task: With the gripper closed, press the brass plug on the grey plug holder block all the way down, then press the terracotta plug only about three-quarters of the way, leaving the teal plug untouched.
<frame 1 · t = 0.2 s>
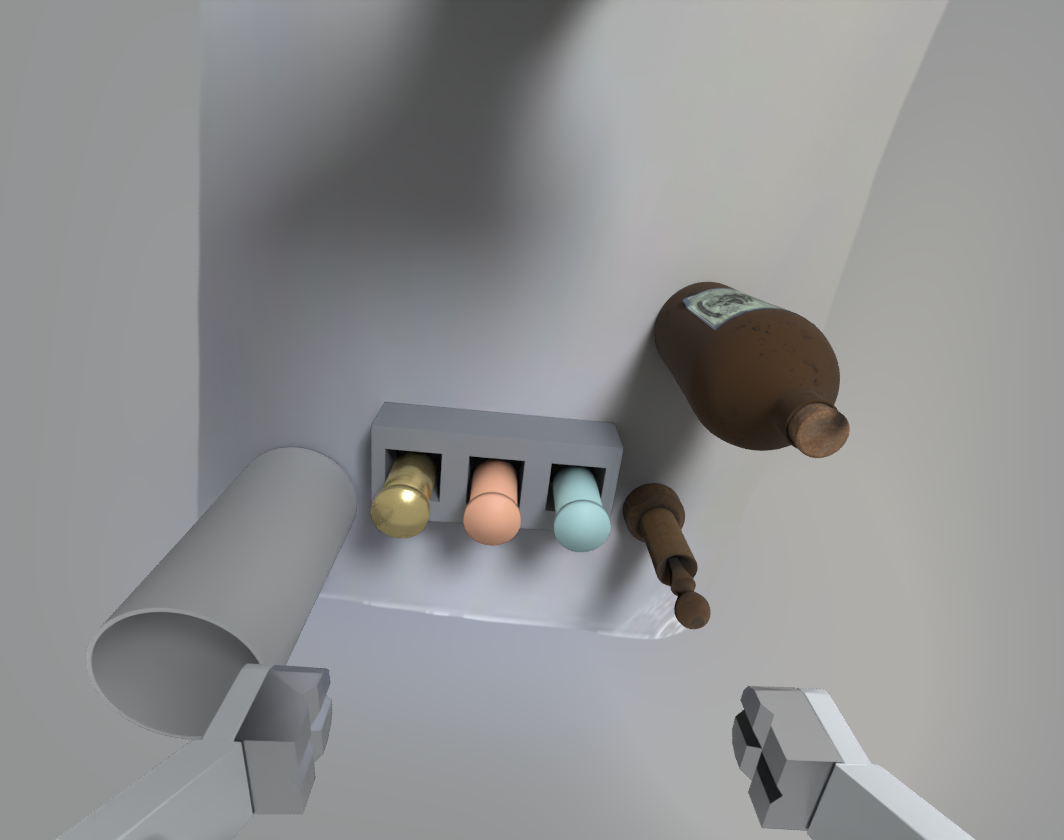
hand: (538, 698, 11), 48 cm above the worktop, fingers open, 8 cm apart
plug b: (493, 498, 54), point 9 cm above the worktop, slide at 0.0 cm
plug a: (407, 491, 54), point 9 cm above the worktop, slide at 0.0 cm
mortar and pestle: (651, 507, 66), on the worktop
cylinder vase: (302, 494, 64), on the worktop
olive oil: (701, 327, 57), on the worktop
plug c: (578, 505, 55), point 9 cm above the worktop, slide at 0.0 cm
grey plug holder block: (496, 455, 62), on the worktop
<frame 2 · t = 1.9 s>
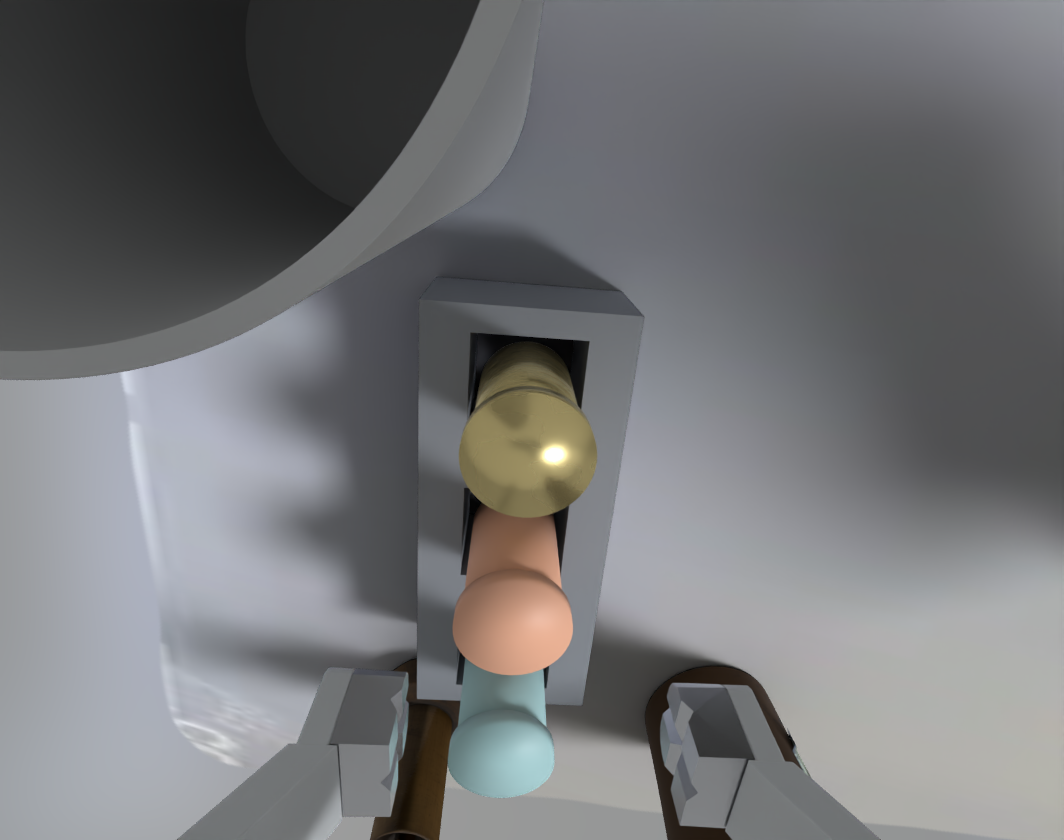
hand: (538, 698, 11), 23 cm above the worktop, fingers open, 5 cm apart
plug b: (513, 570, 28), point 9 cm above the worktop, slide at 0.0 cm
plug a: (526, 416, 24), point 9 cm above the worktop, slide at 0.0 cm
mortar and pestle: (430, 687, 43), on the worktop
cylinder vase: (398, 80, 27), on the worktop
olive oil: (705, 708, 44), on the worktop
plug c: (503, 693, 31), point 9 cm above the worktop, slide at 0.0 cm
grey plug holder block: (514, 479, 36), on the worktop
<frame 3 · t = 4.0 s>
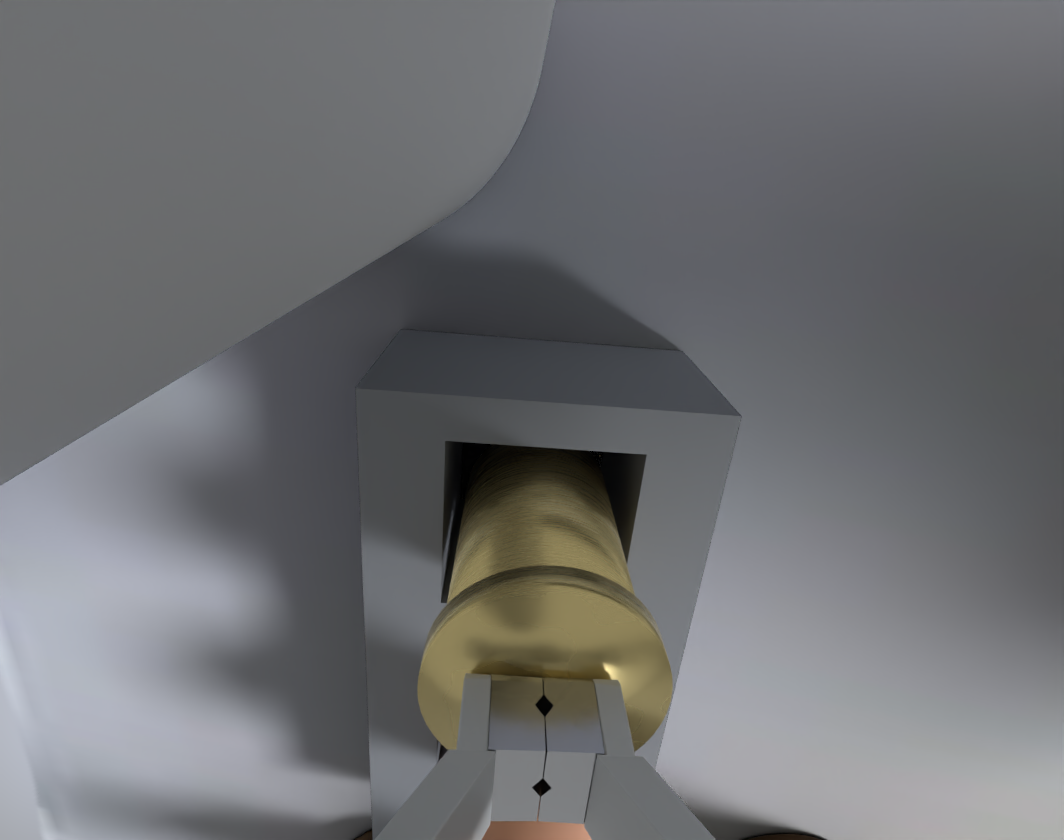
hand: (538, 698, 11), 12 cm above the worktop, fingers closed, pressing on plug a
plug b: (516, 819, 17), point 9 cm above the worktop, slide at 0.0 cm
plug a: (539, 569, 15), point 8 cm above the worktop, slide at 1.3 cm, touching gripper
cylinder vase: (331, 18, 17), on the worktop
grey plug holder block: (518, 608, 25), on the worktop
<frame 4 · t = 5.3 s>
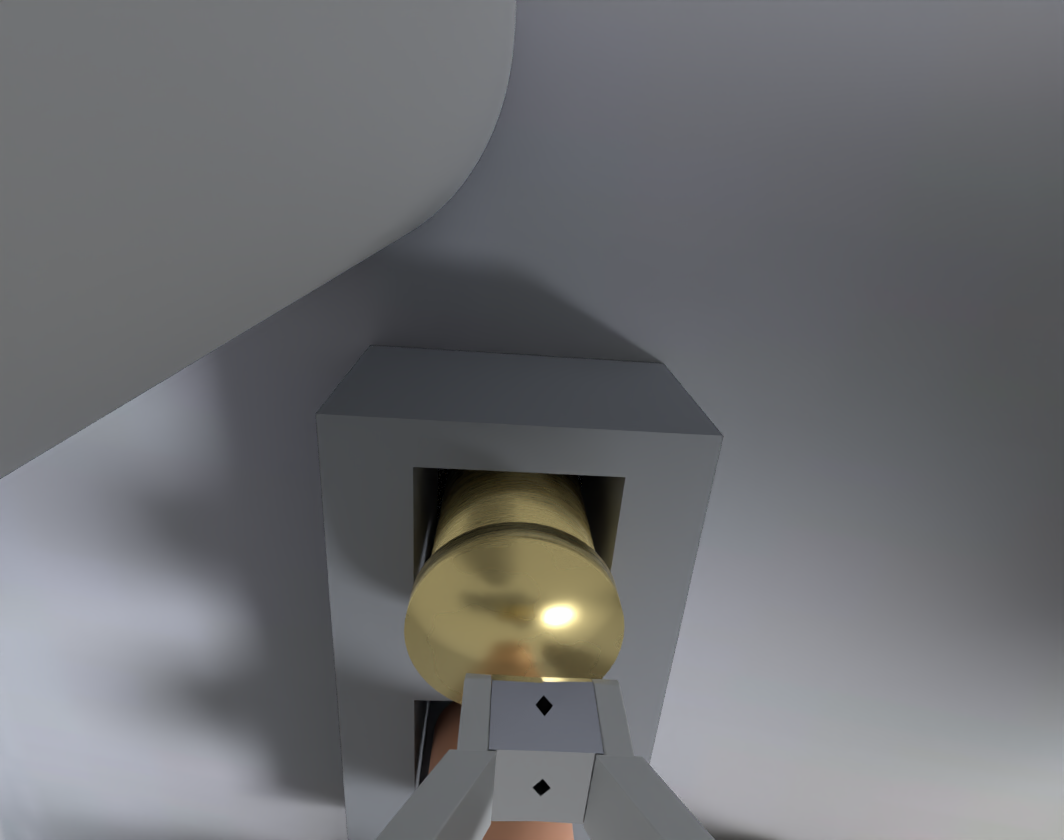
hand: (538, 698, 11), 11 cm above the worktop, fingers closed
plug a: (513, 536, 17), point 5 cm above the worktop, slide at 4.0 cm
cylinder vase: (287, 21, 16), on the worktop
grey plug holder block: (500, 628, 24), on the worktop
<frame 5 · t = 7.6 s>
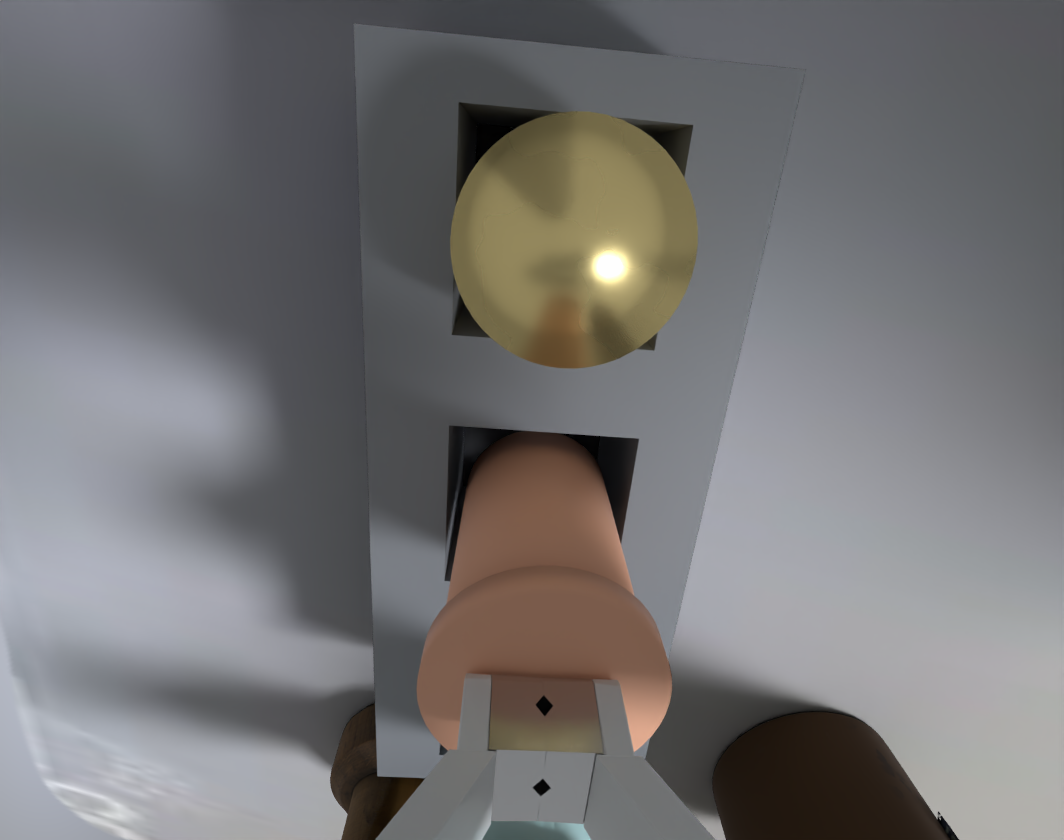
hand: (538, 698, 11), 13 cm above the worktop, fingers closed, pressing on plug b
plug b: (539, 569, 15), point 9 cm above the worktop, slide at 0.2 cm, touching gripper
plug a: (561, 232, 15), point 5 cm above the worktop, slide at 4.0 cm
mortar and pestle: (407, 738, 30), on the worktop
olive oil: (797, 768, 31), on the worktop
plug c: (516, 785, 18), point 9 cm above the worktop, slide at 0.0 cm
grey plug holder block: (533, 431, 23), on the worktop
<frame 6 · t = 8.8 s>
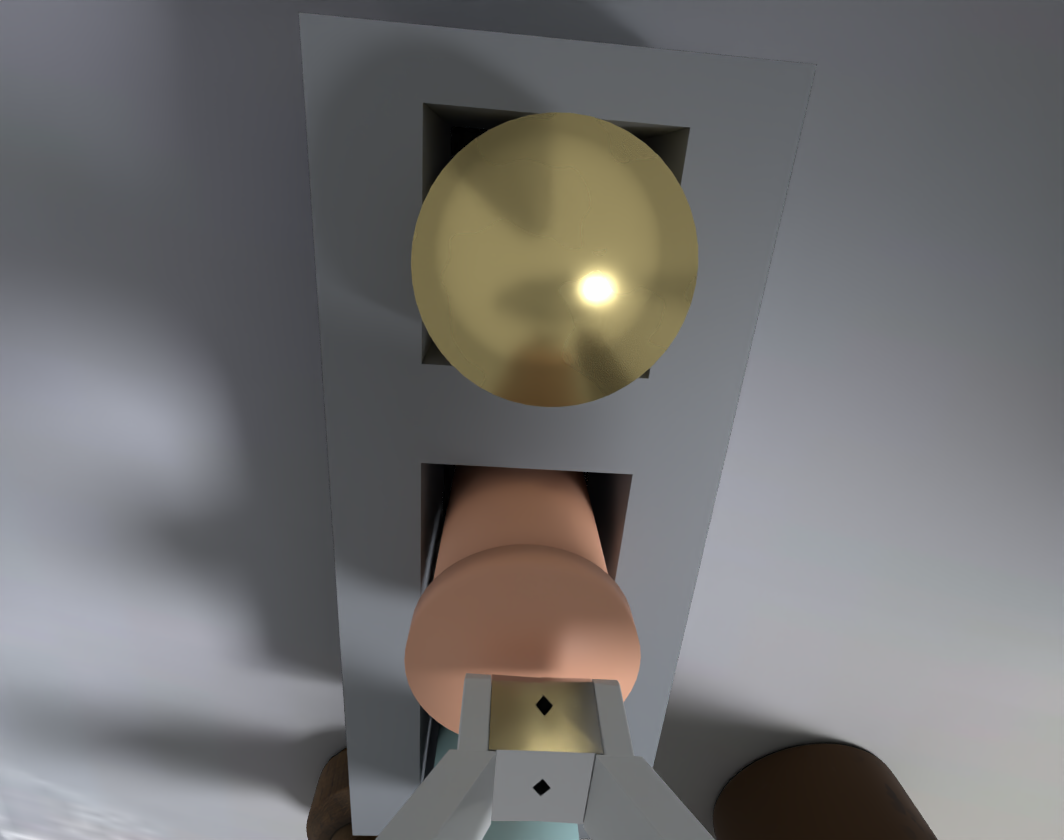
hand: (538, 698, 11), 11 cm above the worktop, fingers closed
plug b: (520, 553, 16), point 6 cm above the worktop, slide at 3.0 cm
plug a: (543, 247, 14), point 5 cm above the worktop, slide at 4.0 cm
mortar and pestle: (390, 779, 28), on the worktop
olive oil: (801, 801, 30), on the worktop
grey plug holder block: (518, 457, 21), on the worktop
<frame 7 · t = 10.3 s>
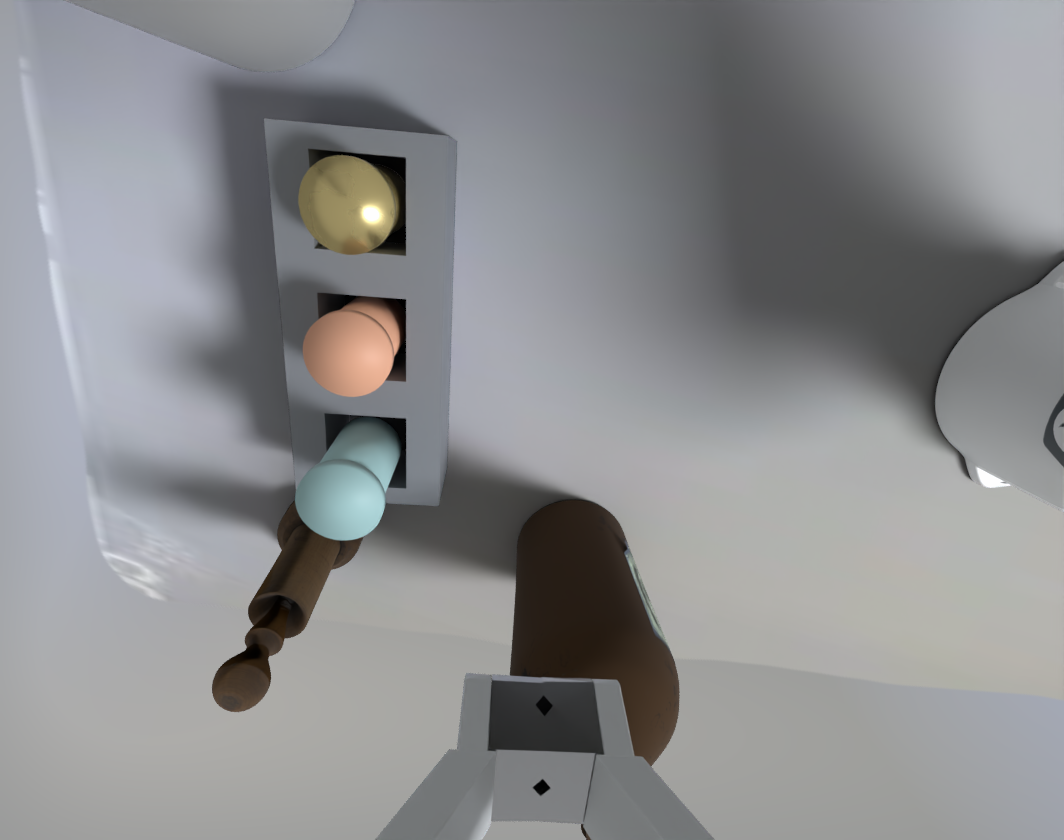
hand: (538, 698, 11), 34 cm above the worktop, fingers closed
plug b: (363, 338, 37), point 6 cm above the worktop, slide at 3.0 cm
plug a: (363, 203, 34), point 5 cm above the worktop, slide at 4.0 cm
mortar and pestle: (327, 521, 49), on the worktop
olive oil: (571, 544, 51), on the worktop
plug c: (356, 472, 37), point 9 cm above the worktop, slide at 0.0 cm
grey plug holder block: (382, 317, 42), on the worktop
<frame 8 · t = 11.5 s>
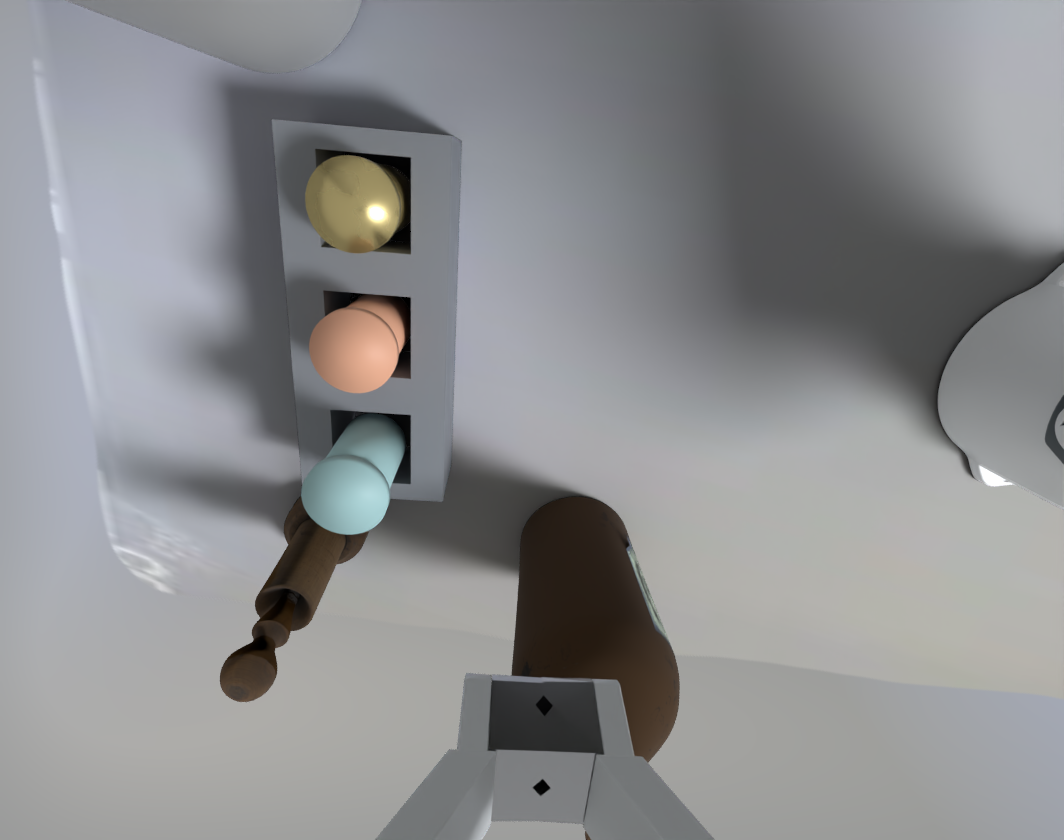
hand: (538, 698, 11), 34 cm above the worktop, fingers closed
plug b: (368, 335, 37), point 6 cm above the worktop, slide at 3.0 cm
plug a: (369, 202, 35), point 5 cm above the worktop, slide at 4.0 cm
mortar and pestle: (332, 517, 50), on the worktop
olive oil: (574, 540, 51), on the worktop
plug c: (361, 467, 37), point 9 cm above the worktop, slide at 0.0 cm
grey plug holder block: (387, 314, 43), on the worktop
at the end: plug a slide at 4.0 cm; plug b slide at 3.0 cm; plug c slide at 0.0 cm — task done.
